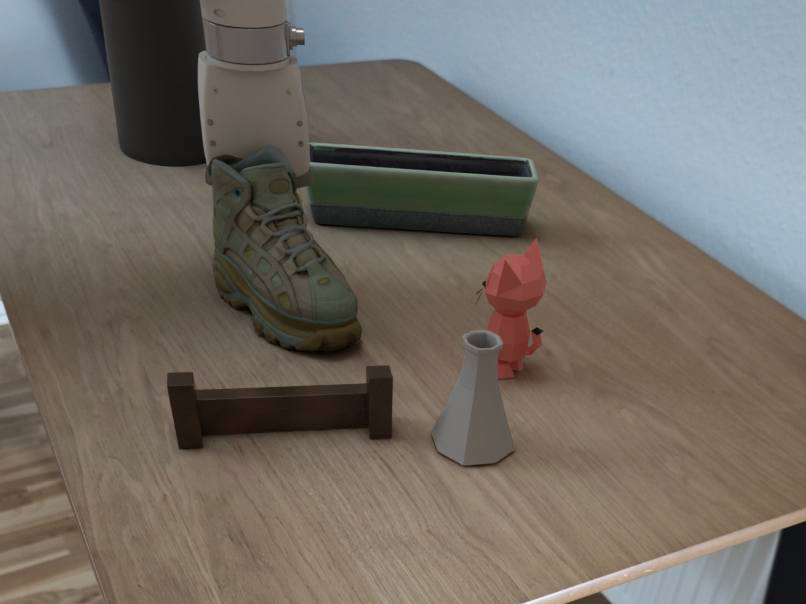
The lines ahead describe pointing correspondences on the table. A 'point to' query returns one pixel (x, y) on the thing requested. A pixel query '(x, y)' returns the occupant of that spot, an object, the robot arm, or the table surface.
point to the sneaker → (276, 256)
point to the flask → (475, 407)
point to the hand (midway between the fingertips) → (266, 242)
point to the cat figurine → (515, 306)
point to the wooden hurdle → (280, 407)
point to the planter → (420, 189)
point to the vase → (155, 78)
